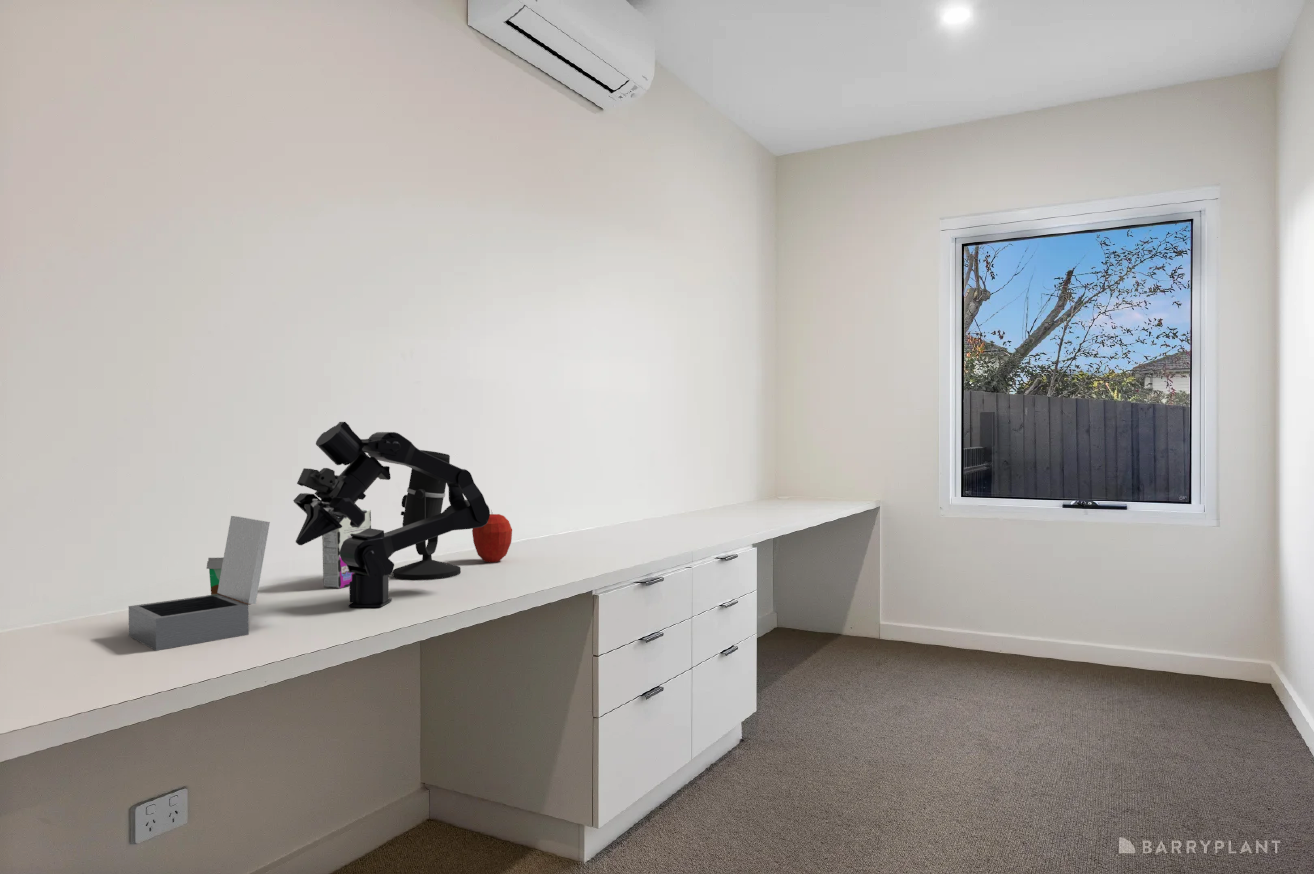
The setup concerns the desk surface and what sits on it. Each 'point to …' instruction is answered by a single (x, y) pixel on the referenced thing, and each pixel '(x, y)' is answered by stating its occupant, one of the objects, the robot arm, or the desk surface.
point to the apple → (493, 538)
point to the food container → (216, 575)
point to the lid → (243, 559)
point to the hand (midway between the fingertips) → (298, 543)
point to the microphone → (420, 506)
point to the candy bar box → (332, 562)
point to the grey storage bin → (187, 621)
